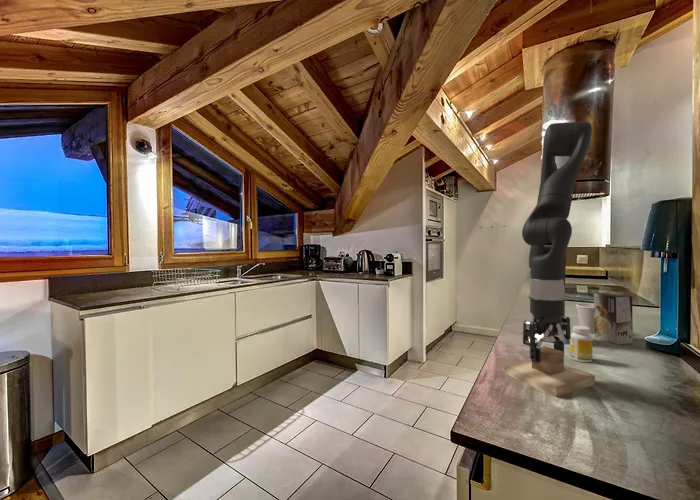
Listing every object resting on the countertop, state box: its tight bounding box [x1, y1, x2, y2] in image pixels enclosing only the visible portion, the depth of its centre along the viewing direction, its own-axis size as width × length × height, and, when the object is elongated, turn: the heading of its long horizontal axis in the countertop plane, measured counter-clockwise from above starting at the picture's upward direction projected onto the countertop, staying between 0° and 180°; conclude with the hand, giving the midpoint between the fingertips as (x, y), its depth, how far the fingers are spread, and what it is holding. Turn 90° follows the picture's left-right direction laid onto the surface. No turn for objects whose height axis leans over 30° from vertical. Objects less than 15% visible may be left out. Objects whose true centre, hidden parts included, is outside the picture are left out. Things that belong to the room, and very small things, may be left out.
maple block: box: [504, 358, 596, 398], centre depth 80 cm, size 14×14×3 cm
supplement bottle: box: [569, 325, 593, 363], centre depth 92 cm, size 5×5×10 cm
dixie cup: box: [575, 302, 595, 334], centre depth 119 cm, size 8×8×10 cm
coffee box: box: [593, 291, 634, 345], centre depth 108 cm, size 9×6×16 cm
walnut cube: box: [532, 345, 565, 375], centre depth 80 cm, size 5×5×5 cm
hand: (547, 359), depth 79 cm, fingers open, 8 cm apart
